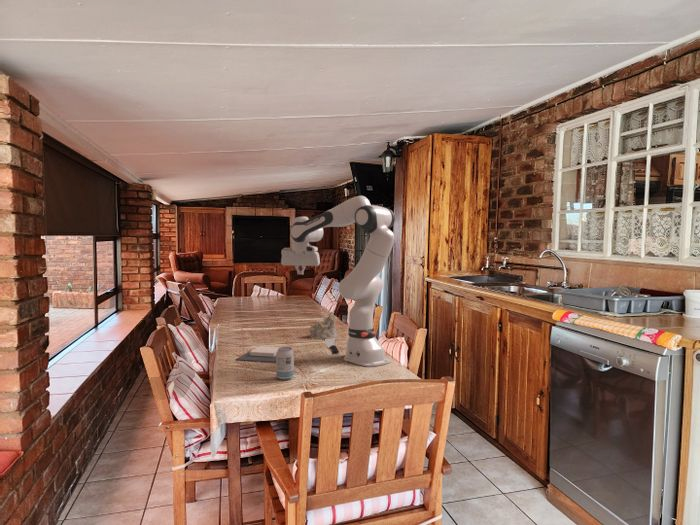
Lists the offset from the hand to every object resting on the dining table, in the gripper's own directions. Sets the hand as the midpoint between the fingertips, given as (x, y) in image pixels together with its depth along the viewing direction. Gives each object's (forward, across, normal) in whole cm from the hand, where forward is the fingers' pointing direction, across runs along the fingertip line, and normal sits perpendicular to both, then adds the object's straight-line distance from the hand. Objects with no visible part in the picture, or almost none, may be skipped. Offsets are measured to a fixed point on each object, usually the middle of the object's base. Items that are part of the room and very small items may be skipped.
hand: (300, 274), depth 230 cm
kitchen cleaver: (+38, +16, -1) cm, 41 cm away
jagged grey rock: (+37, +7, +22) cm, 44 cm away
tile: (+36, -10, -18) cm, 41 cm away
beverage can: (+37, +11, -54) cm, 67 cm away
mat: (+37, -10, -27) cm, 47 cm away
